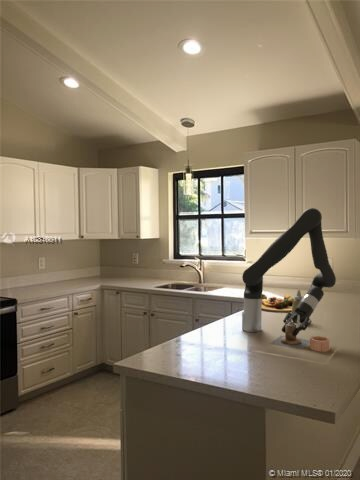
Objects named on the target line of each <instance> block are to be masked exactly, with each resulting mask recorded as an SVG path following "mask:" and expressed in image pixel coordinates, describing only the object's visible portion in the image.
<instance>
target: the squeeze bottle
mask: <svg viewBox="0 0 360 480" xmlns="http://www.w3.org/2000/svg"><path fill="white" fill-rule="evenodd" d="M303 297H304V296H303V295H302V293H301V289H297V293H296V295H294V299H295V300H293V304H292V312H291V313H292V314H293V313H294V312H295V308H296V307H297V305H298V304H299V302H300V301H301V300H302V298H303Z"/></svg>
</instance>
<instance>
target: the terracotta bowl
mask: <svg viewBox="0 0 360 480" xmlns="http://www.w3.org/2000/svg"><path fill="white" fill-rule="evenodd" d="M309 340H310V342H309V348H310V349H311V350H312V351H316V352H325V353H326V352H329V351H330V349H331V339H330V338H329V337H327V336H320V335H317V336H314V335H313V336H311V337H309Z"/></svg>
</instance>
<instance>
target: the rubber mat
mask: <svg viewBox="0 0 360 480" xmlns="http://www.w3.org/2000/svg"><path fill="white" fill-rule="evenodd" d="M282 337H285V335H279V336H278V337H277V338H275V339H274V340H273V341H271V342H270V343H269V345H275V346H280V347H286V348H293V349H298V350H303V349H304V348H305V347H307V345H308V344H310V339H306V338H299V337H298V338H299V339H300V340H301V343H300V344H298V345H288V344H284V343H282V342H281V338H282Z"/></svg>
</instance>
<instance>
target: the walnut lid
mask: <svg viewBox="0 0 360 480" xmlns="http://www.w3.org/2000/svg"><path fill="white" fill-rule="evenodd" d="M284 325H285V324H284ZM295 328H297V324H296V323H295V324H289V323H288V324H286V325H285V333H284V334H285V335H284V336H285V337H282V338H281V342H282V343H284V344H288V345H298V344H300V343H301V340H300V339H301V338H300V339H299V337H297V335H296V336H293V335H292V332H293V331H294V330H295Z"/></svg>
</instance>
